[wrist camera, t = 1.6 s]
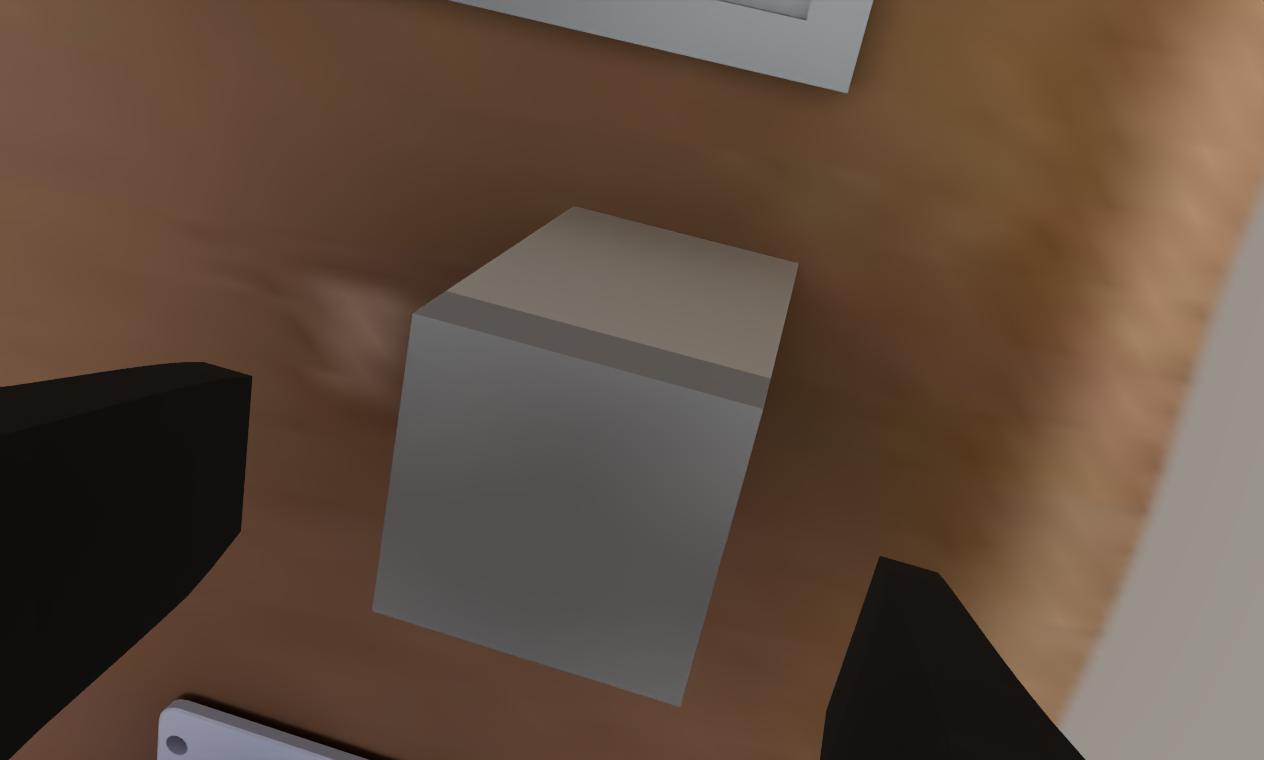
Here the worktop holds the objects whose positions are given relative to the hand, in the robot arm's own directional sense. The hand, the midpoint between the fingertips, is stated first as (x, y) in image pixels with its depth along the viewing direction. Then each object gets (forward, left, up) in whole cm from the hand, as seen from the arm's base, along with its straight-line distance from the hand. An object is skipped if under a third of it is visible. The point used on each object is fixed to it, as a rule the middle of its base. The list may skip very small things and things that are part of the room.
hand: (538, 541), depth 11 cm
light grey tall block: (0, 0, -8) cm, 8 cm away
